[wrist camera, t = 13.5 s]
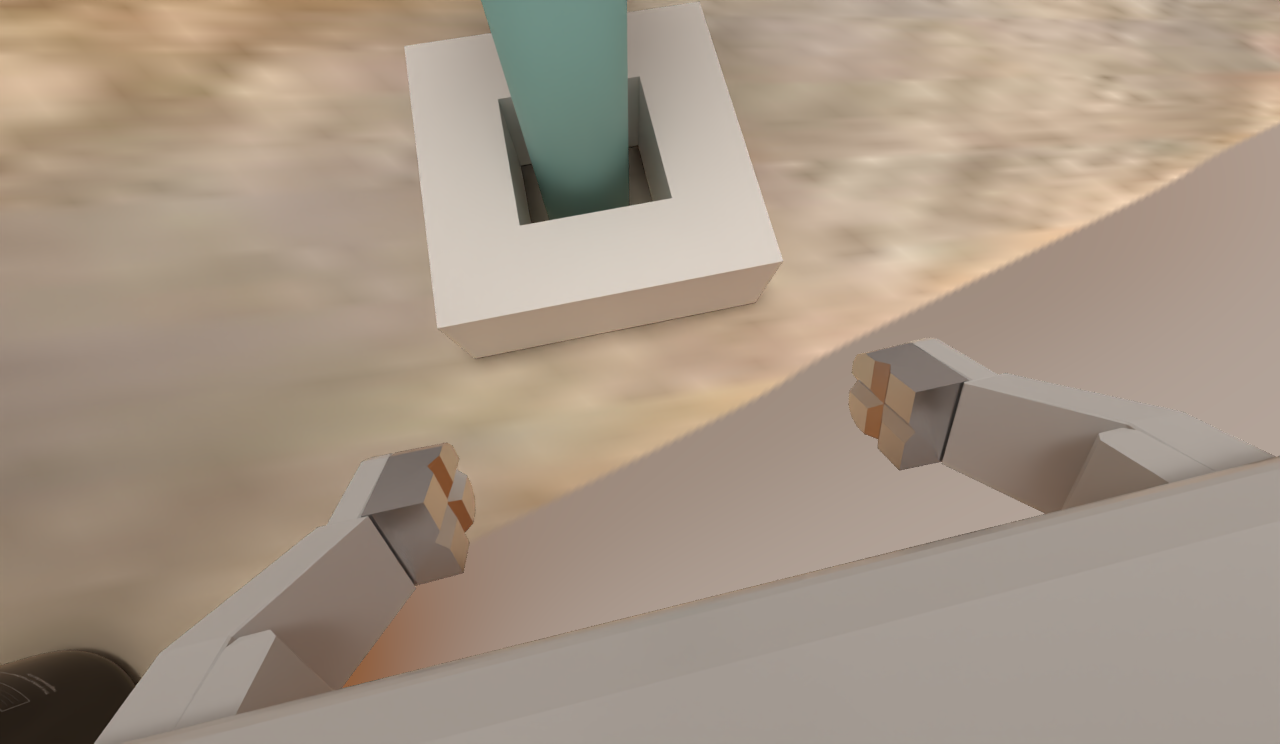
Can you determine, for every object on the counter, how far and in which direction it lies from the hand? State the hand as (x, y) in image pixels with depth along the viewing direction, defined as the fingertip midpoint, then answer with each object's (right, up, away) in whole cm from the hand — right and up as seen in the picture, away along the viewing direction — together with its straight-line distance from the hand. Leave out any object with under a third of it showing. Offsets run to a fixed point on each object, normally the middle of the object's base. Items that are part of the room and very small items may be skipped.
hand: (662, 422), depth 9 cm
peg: (-3, +9, +13) cm, 16 cm away
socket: (-3, +9, +13) cm, 16 cm away
